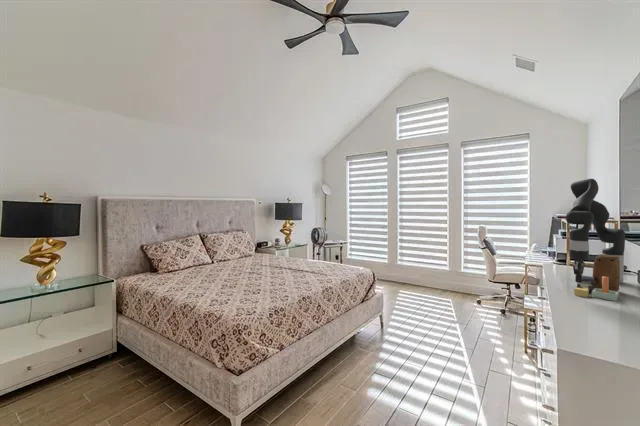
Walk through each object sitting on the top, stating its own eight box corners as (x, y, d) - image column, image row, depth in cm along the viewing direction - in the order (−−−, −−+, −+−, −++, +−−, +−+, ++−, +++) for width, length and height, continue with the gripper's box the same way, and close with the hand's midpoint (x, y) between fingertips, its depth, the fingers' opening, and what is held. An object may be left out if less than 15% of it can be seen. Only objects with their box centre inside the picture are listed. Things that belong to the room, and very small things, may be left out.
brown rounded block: (620, 291, 156) (620, 255, 156) (618, 294, 152) (619, 257, 151) (593, 287, 165) (593, 253, 164) (591, 289, 160) (591, 254, 160)
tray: (595, 293, 153) (595, 287, 153) (619, 297, 146) (619, 291, 146) (591, 296, 148) (591, 291, 148) (616, 301, 140) (616, 295, 140)
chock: (576, 293, 154) (576, 287, 153) (588, 296, 149) (588, 289, 149) (574, 295, 151) (574, 288, 151) (586, 297, 147) (586, 290, 147)
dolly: (580, 288, 162) (580, 274, 162) (594, 290, 158) (594, 276, 157) (576, 291, 157) (576, 277, 156) (591, 294, 152) (591, 279, 152)
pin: (602, 295, 148) (602, 276, 148) (609, 296, 146) (608, 277, 146) (601, 295, 147) (601, 277, 147) (608, 297, 145) (608, 277, 145)
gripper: (572, 247, 153) (572, 278, 153) (566, 249, 145) (565, 282, 145) (591, 248, 147) (590, 281, 147) (586, 251, 139) (585, 286, 139)
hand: (578, 282), depth 146 cm, fingers closed
